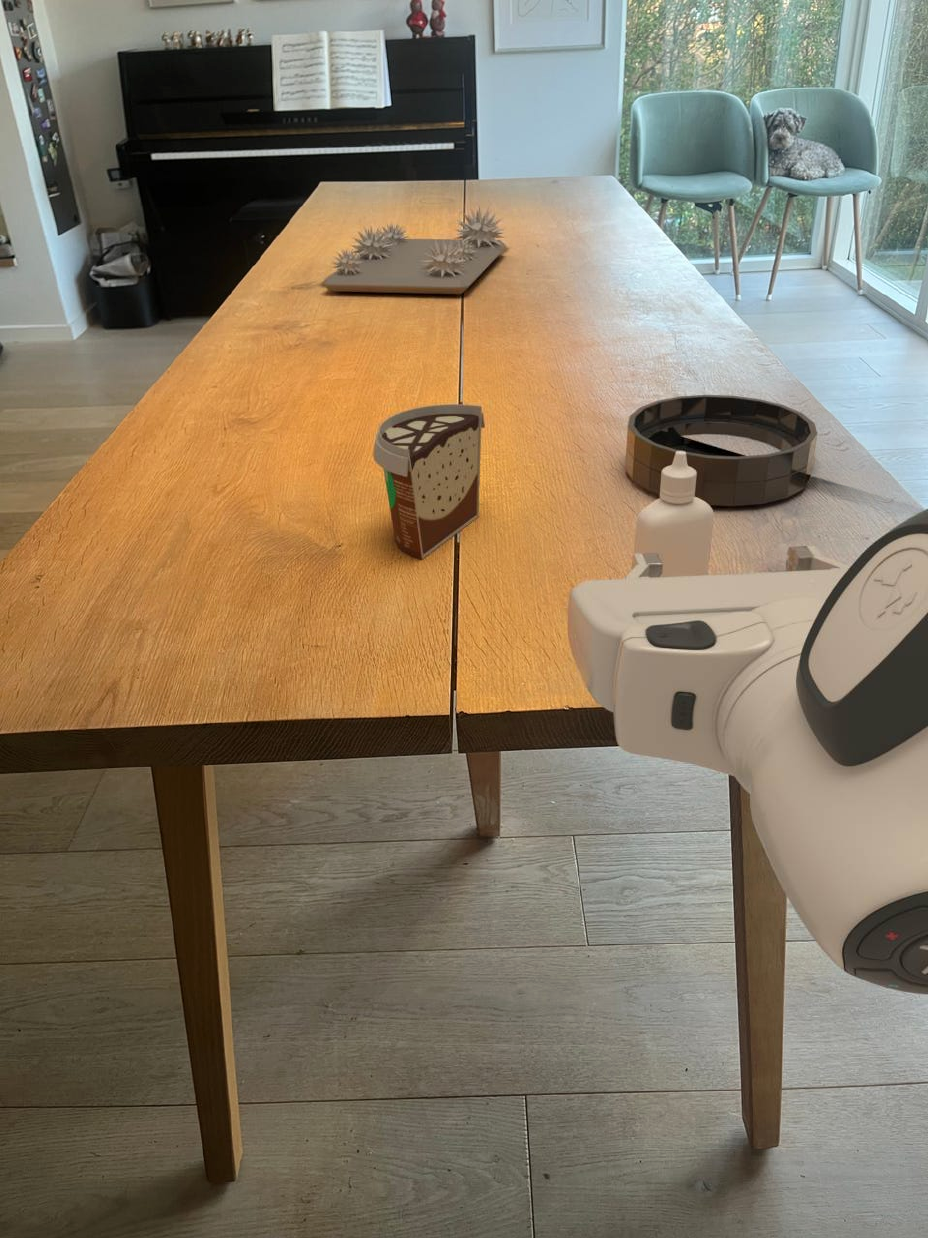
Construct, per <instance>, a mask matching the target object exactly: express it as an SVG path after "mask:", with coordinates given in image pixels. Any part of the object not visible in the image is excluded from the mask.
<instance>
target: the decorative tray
mask: <svg viewBox="0 0 928 1238" xmlns="http://www.w3.org/2000/svg"><path fill="white" fill-rule="evenodd" d="M480 206H481V205H478V210H476V214H475V213H474V211H473V208H470V212H471V216H470V215H469V214H468V213H464V212H462V213H463V215H464V219H465V220H466V222H467V223H466V222H463V221H461V220H458V219H456V221H457V223H458V224H459V225H460V226H461V227H462V229H459V228H458V229H455V231H457V232H458V233H457V235H458V236H457V237H454V238H409V237H410V236H407V235H406V234H405V233H406V232H407V231H408V229H405V230H404V229H403V225H402V226H401V227H400V225H399V222H397V223H396V225H395V226H394V225H393V222H391V224H390V225H389V224H388V223H386V228H385V227H384V226H381V228H380V226H378V228H377V230H375V229H373V228H372V226H369V227H370V228H366V227H365V226H363V229H364V234H365V235H364V234H363V233H362V232H360V231H358V230H356V232H357V233H358V235H359V237H360V239H359V238H356V237H353V236H352V239H353V240H354V241H355V242H356V243H358V244H350V245H349V246H350V247H351V248H352V249H351V250H349V251H348V247H346V248H345V250H344V249H343V248H342V247H341V253H342V255H341V254H340V253H339V252H336V254H337V255H338V257H336V256H332V257H333V258H334V259H335V260H336V261H332V262H331V263H332V264H333V265H334V266H333V267H332V269H335V271H334V272H333V273H330V274H329V275H328V276H327V277H326V278H325V279H324V280H323V281H322V282H321V285H322V286H323V287H324V288H325V289H327V290H328V291H329V292H343V293H347V292H349V293H350V292H351V293H389V294H390V293H392V294H393V293H394V294H396V293H398V294H433V295H434V294H435V295H436V294H437V295H462V294H463V293H464V292H465V291H466V290H468V289H469V287H470V286H471V285H472V284H473V283H474V282H475V281H476V280H477V279H478V278H479V277H480V276H481V275H482V274H483V273H484V271H485V270H486V269H487V268H488V267H490V265H491V264H493V262H494V261H495V260H496V259H497V258H498V257H499V256H500V255H501V254H502V252H503V251H505V249H506V248H507V245H506V244H505V243H504V242H503V241H502V240H501V239H505V238H506V237H505V236H502V234H504V232H501V231H504V230H505V228H499V226H498V224H499V223H500V222H501V221H502V220H503V218H501V219H498V218H499V216H497V217H496V215H497V212H495V213H494V214H493V215H492V216H490V211H491V209H490V206H488V207H487V209H486V211H485V212H484V215H483V213H482V212H483V211H481V207H480ZM489 216H490V218H489ZM497 219H498V220H497ZM382 230H383V231H382Z"/></svg>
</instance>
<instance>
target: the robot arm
mask: <svg viewBox="0 0 928 1238" xmlns="http://www.w3.org/2000/svg"><path fill="white" fill-rule="evenodd" d="M786 553H787V556H788V558H787V559H786V560H785V571H770V572H769V571H768V572H748V573H747V572H745V573H723V574H708V575H699V576H677V577H660V575H661V574H662V568H663V563H662V561H661V559H660V558H659V554H658V553H637V554H634V553H632V558H631V571H629V573H628V574H626V576H625V578H613V579H612V578H611V579H588V580H582V581H581V582H579V583H577V585H575V586H574V587H573V588H572V589H570V592H569V594H568V601H567V602H568V604H567V638H568V645H569V648H570V651H571V655H572V657H573V660H574V664H575V666H576V669H577V671H578V673H579V675H580V677H581V680H582V681H583V684H584V685H585V687H586V689H587V692H589V694H590V696H591V697H592V699H593V700H594V701H595V702H596V703H597V704H598V705H599V706H601V707H602V708H604V709H605V710H607V711H609V712H611V713H612V715H613V726H614V727H613V728H614V735H615V740H616V743H617V745H618V746H619V748H620V749H621V750H623V751H624V752H626V753H630V754H633V755H638V756H643V757H650V758H658V759H664V760H670V761H675V762H679V763H685V764H689V765H693V766H698V767H702V768H704V769H705V768H706V769H709V770H712V771H717V772H719V773H722V774H725V775H728V776H732V777H734V778H735V779H736V781H737V782H738V783H739V784H740V786H741V787H742V788H743V789H744V790H745V791H746V793H748V794H749V803H750V804H749V807H750V813H751V818H752V822H753V825H754V829H755V831H756V833H757V836H758V838H759V841H760V843H761V845H762V848H763V850H764V852H765V854H766V856H767V858H768V861H769V863H770V865H771V868H772V870H773V872H774V874H775V877H776V878H777V880H778V883H779V884H780V886H781V888H782V890H783V892H784V893H785V895H786V898H787V899H788V901H789V903H790V905H791V906H792V908H793V910H794V911H795V913H796V915H797V916H798V918H799V919H800V921H801V922H802V924H803V926H804V927H805V928H806V930H807V931H808V933H809V935H811V937H812V938H813V940H814V941H815V943H816V944H817V945H818V946H819V948H821V950H822V951H823V952H824V953H825V954H826V955H827V956H828V957H829V958H830V960H831V961H832V962H833V963H834V964H835V965H836V966H837V967H838V968H840V969H841V970H842V971H843V972H845V973H847V974H848V975H851V976H853V977H855V978H858V979H860V980H862V981H865V982H868V983H870V984H874V985H876V986H879V987H883V988H887V989H890V990H895V991H899V992H903V993H909V994H918V995H928V508H926V509H924V510H922V511H920V512H918V513H916V514H914V515H913V516H911V517H909V518H907V519H906V520H904V521H902V522H901V523H900V524H898V525H896V526H895V527H893V528H892V529H890V530H889V531H888V532H886V533H885V534H883V535H882V536H881V537H880V538H878V539H876V540H875V541H874V542H873V543H872V544H871V545H869V546H868V547H867V548H866V549H865V550H864V551H863V552H862V553H861V554H860V555H859V557H858V558H857V559H855V561H854V562H853V563H852V564H851V565H849V564H847V563H844V562H841V561H838V560H836V559H833V558H830V557H828V556H824V555H822V553H821V552H820V551H819V550H818V548H817V547H816V545H800V546H789V547H788V549H787V552H786Z"/></svg>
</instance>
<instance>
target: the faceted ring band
mask: <svg viewBox="0 0 928 1238" xmlns="http://www.w3.org/2000/svg"><path fill="white" fill-rule="evenodd" d="M626 431H627V433H626V450H625V451H626V452H625V466H624V468H625V469H624V470H625V471H626V473H627V474H628V476H629V477H630V479H631V481H632V482H634V483H636V484H637V485H639V486H640V487H642V488H644V489H645V490H647V491H649V492H651V493H654V494H656V495H660V486H661V473H662V470H663V469H664V468H665V467H667V466H670V465H672V463H673V460H674V457H675V453H676V452H677V451H684V452H686V458H687V465H688V466H689V467H692V468H693V469H695V470H696V472H697V476H696V486H695V496H694V497H697V498H699V499H701V500H703V501H705V502H706V503H707V504H709V505H710V506H719V507H720V506H721V507H723V506H724V507H739V506H753V505H763V504H764V505H765V504H768V503H773V502H777V501H780V500H785V499H787V498H789V497H791V496H793V495H795V494H797V493H798V492H799V493H800V491H802V490H805V489H804V488H805V487H806V486H807V484H808V482H809V481H810V479H811V478H812V477H811V476H812V475H811V474H810V472H811V471H812V470H813V463H814V458H815V452H816V445H817V439H818V429H817V426H816V424H815V422H814V421H813V420H811V419H810V418H809V417H808V416H806V415H805V414H804V413H803V412H801V411H798V410H796V409H794V408H791V407H789V406H786V405H784V404H780V403H776V402H773V401H770V400H769V401H768V400H765V399H760V398H754V397H745V396H739V395H727V394H726V395H724V394H696V395H680V396H674V397H669V398H665V399H660V400H655V401H653V402H650V403H648V404H645V405H642V406H640V407H638V408H637V409H636V410H635V411H634V412H632V414H630V415H629V416H628V422H627V430H626ZM695 435H719V436H722V435H724V436H731V437H732V436H733V437H739V438H746V439H750V440H753V441H757V442H759V443H760V442H761V443H765V444H767V445H769V446H772V447H773V448H775V449H778V450H779V451H775V452H771V453H767V454H753V455H745V454H743V453H738V452H735V451H732V450H729V449H726V448H722V447H718V446H715V445H712V444H709V443H705V442H702V441H698V440H695V439H692V438H689V437H684V436H695Z"/></svg>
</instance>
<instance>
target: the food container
mask: <svg viewBox="0 0 928 1238" xmlns="http://www.w3.org/2000/svg"><path fill="white" fill-rule="evenodd" d="M482 409H483V407H482V406H481V405H475V404H460V403H448V404H447V403H446V404H445V403H444V404H433V405H426V406H420V407H414V408H411V409H407V410H404V411H401V412H397V413H396V414H393V415H391V416H389V417H388V418H386V419H384V420H383V421H382V422H381V423H380V425H379V427H378V431H377V433H376V434H375V440H374V447H373V455H372V456H373V460H374V461H375V463H376V464H377V465H378V466H379V467H381V468H382V470H383V474H384V475H383V476H384V482H385V487H386V493H387V499H388V505H389V511H390V517H391V523H392V531H393V535H394V541H395V544H396V547H398V549H399V550H400V551H401V552H403V553H404V554H407V555H408V556H410V557H413V558H415V559H419V560H424V559H425V558H427V557H428V556H429V555H430V554H431V553H433V552H434V551H436V550H437V549H438V548H440V547H441V546H442V545H444V544H445V543H446V542H448V541H449V540H450V539H451V538H453V537H455V535H457V534H458V533H460V532H461V531H462V530H464V529H465V528H466V527H467V526H469V525H470V524H471V523H473V522H474V521H475V520H477V519H478V518H479V517H480V488H481V487H480V484H481V483H480V482H481V455H482V453H481V451H482V429H485V428H486V423H485V417H484V412H483V410H482Z"/></svg>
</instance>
